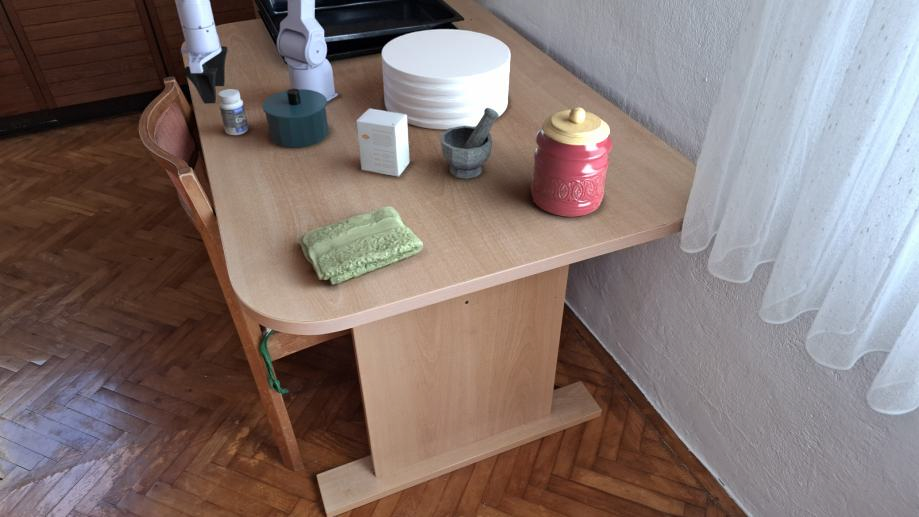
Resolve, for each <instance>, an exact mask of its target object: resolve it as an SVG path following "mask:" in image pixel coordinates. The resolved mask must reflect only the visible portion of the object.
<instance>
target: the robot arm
mask: <svg viewBox="0 0 919 517" xmlns="http://www.w3.org/2000/svg"><path fill="white" fill-rule="evenodd" d="M174 2H175V6H176V9H177V10H176V11H177V14H178V19H179V23H180V26H181V30H182V33H183V34H182V35H183V38H184V42H185V45H183V46H182V47H181V48H180V52H181V54H187V57H188V62H187V63H188V66H185V68H184V69H183V73H184V76H185V77H186V78H187V79H188V80H189V81H190V83H192V85H193V86H194V88H195V89H196V91H197V93H198V94H199V96H200V98H201V101H202V102H203V103H204V104H207V105H208V104H217V103H216V102H217V92H216V91H217V90H216V89H217V88H216V87H225V82H226V74H225V73H226V72H225V71H226V68H225V67H226V58H227V55H228V51H229V49H228V47H227V46H225V45H224V46H223V45H221V42H220V38H219V33H218V32H217V27H216V23H215V20H214V14H213V10H212V6H211V1H210V0H174ZM315 7H316V0H287V16H285V17H284V19H282V20H281V21H280V23H279V32H278V35H277V38H276V49H277V52H278V53H279V55H281V56H282V57H284V62H286V65H287V70H288V78H289V84H290V89H304V90H312V91H316V92H319V93H321V94H323V95H324V96H325V97H326V99H327V102H329V101H331V100H333V99H335V98H337V97H338V96H339V93H337V92H335V90H336V89H335V80H334V73H333V67H332V64H331V63H330V61H329V60H328V59H327V58H326V57H327V53H328V47H327V46H328V45H327V43H326V39H325V30H324V28H323V26H321V24H320V23H319V22H318V20H317V19H316V17H315V14H316V13H315V9H316V8H315Z"/></svg>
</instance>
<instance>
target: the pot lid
mask: <svg viewBox="0 0 919 517" xmlns="http://www.w3.org/2000/svg"><path fill="white" fill-rule="evenodd" d="M327 106H328V101H327V99H326V97H325V96H324V95H323V94H321V93H319V92H316V91H312V90H304V89H291V88H289V89H288V90H283V91H279V92H275V93H273V94H271V95H269V96H268V97H267V98H266V99H264V100H263V102H262V104H261V107H262V111H263V112H264V114H265V115H266V114H267V115H269V116H271V117H274V118H279V119H301V118H306V117H310V116H313V115H315V114H318V113H319V112H321V111H322V110H324V109H325V107H326V108H327Z"/></svg>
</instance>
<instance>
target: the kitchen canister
mask: <svg viewBox="0 0 919 517" xmlns="http://www.w3.org/2000/svg"><path fill="white" fill-rule="evenodd" d="M610 132H611V131H610V126H609V124H607V122H606V121H605V120H603V119H601V118H600V117H599V116H598V115H596V114H594V113H592V112H590V111H586V110H584V108H582V107H580V106H575V107H573V108H572V109H565V110H560V111H557V112H556V113H553V114H551V115H549V116H547V117H546V118H544V119H543V121H542V123H541V128H540V129H539V130H538V131H537V133H536V134H535V143H536V146H537V148H535V150H534V153H533V158H534V162H533V172H532V173H533V175H532V180H531V184H530V192H531V199H532V201H533V202H534V204H535V205H536V206H537V207H539V208H540V209H541V210H543V211H544V212H547V213H549V214H551V215H552V214H553V215H556V216H559V217H569V218H571V217H574V218H575V217H582V216H586V215H589V214H591V213H594V212H595V211H596V210H597V209H599V207H600V206H601V203H602V201H603V199H604V194H605V184H606V178H607V172H608V167H609V166H610V157H609V155H608V154H609V153H610V151H611V150H612V148H613V140H612V137H611V136H610Z"/></svg>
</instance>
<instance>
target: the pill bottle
mask: <svg viewBox="0 0 919 517" xmlns="http://www.w3.org/2000/svg"><path fill="white" fill-rule="evenodd" d="M218 99H219V101H220V102H219V104H218V107H219V111H220V115H221V119H222V124H223V128H224V132H225V133H226V134H227V135H230V136H239V135H243V134H245V133H247V132H248V130H249V125H248V120H247V114H246V110H245V104H244V102H243V99H241V94H240V91H239V90H238V89H235V88H228V89H223V90H221V91H220V92H218Z"/></svg>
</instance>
